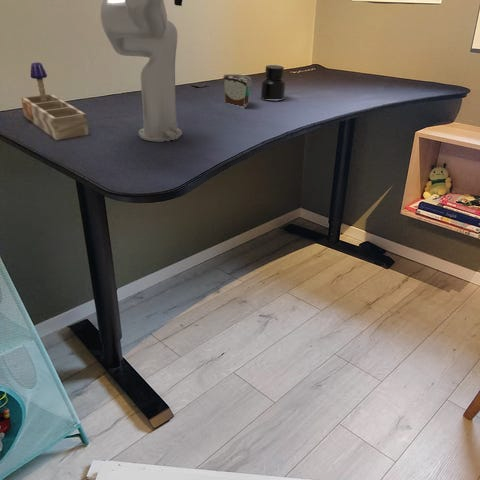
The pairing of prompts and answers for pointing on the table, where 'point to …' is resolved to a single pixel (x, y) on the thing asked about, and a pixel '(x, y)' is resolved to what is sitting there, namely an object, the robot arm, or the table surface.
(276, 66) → the ink bottle
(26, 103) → the rack
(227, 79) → the food container
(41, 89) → the toy lamp
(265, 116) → the table surface
